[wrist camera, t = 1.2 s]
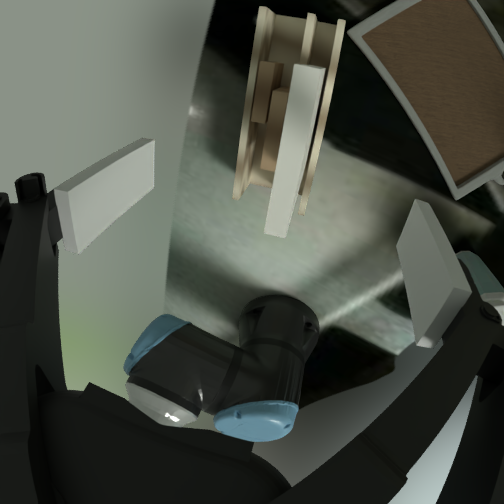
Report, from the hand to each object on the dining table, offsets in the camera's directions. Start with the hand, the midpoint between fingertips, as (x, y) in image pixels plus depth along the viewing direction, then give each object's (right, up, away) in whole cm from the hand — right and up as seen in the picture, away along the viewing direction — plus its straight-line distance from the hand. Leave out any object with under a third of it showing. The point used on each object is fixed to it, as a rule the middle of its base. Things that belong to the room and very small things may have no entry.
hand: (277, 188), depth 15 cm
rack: (+4, +16, +24) cm, 29 cm away
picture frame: (+27, +18, +17) cm, 37 cm away
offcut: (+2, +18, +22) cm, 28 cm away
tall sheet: (+6, +15, +23) cm, 28 cm away
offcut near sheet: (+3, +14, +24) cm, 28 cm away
